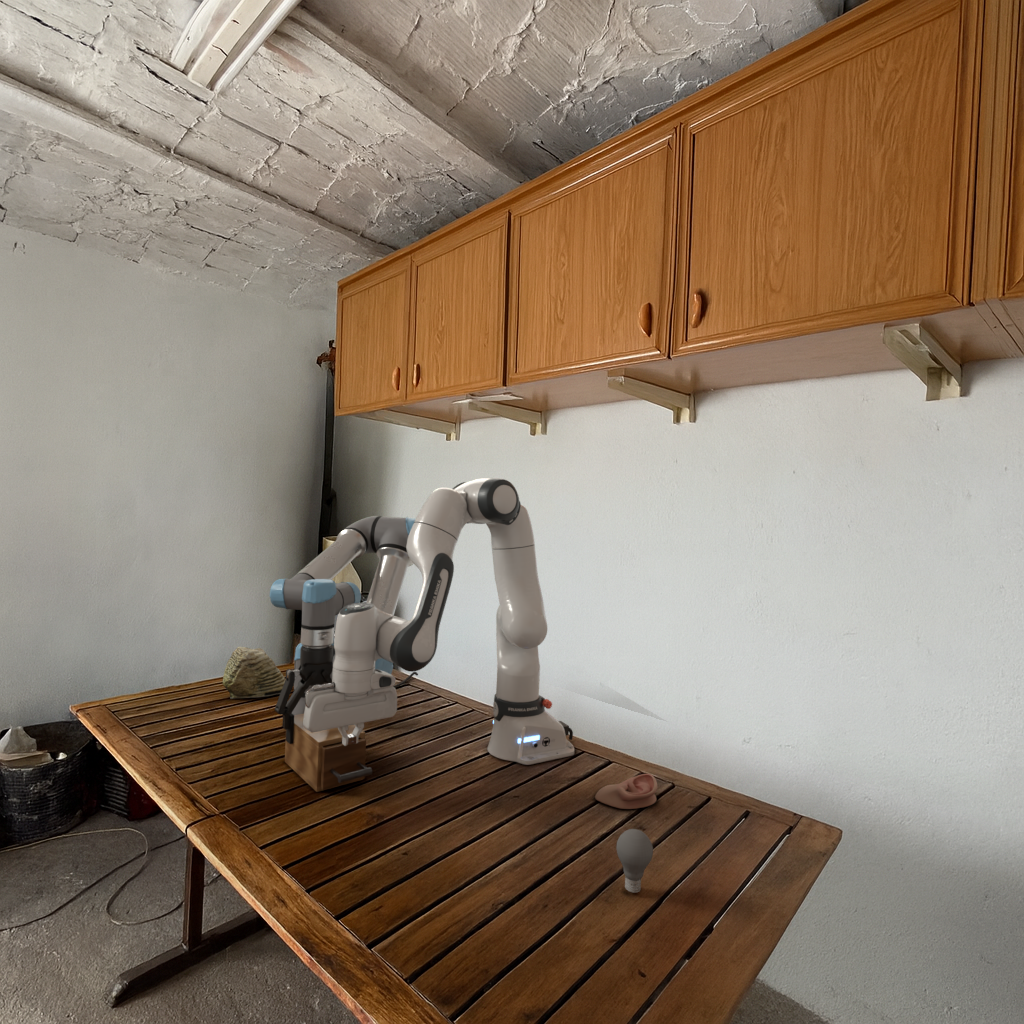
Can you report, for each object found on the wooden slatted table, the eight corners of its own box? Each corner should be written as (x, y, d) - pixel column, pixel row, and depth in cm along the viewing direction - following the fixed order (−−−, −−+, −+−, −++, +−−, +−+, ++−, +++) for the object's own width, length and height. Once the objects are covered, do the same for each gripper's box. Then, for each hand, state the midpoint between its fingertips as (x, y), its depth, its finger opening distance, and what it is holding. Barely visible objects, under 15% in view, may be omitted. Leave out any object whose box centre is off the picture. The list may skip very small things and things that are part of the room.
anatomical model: (594, 786, 135) (598, 765, 146) (593, 805, 135) (597, 782, 146) (658, 795, 132) (657, 772, 143) (657, 814, 132) (656, 790, 143)
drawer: (376, 788, 137) (378, 748, 136) (334, 800, 130) (336, 758, 130) (331, 752, 154) (333, 716, 154) (292, 761, 148) (293, 724, 148)
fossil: (218, 695, 195) (220, 647, 195) (278, 685, 208) (279, 640, 207) (228, 703, 189) (230, 653, 188) (289, 692, 201) (290, 645, 201)
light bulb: (610, 879, 108) (613, 822, 108) (644, 879, 109) (647, 822, 109) (619, 902, 102) (622, 840, 102) (655, 901, 103) (658, 840, 103)
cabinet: (363, 779, 143) (365, 732, 142) (316, 792, 136) (318, 742, 135) (328, 751, 157) (330, 708, 157) (284, 761, 150) (286, 716, 150)
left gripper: (273, 654, 140) (269, 752, 140) (369, 642, 155) (365, 731, 155) (261, 647, 146) (258, 741, 146) (355, 636, 161) (352, 722, 161)
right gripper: (312, 690, 126) (308, 759, 126) (402, 677, 139) (398, 739, 139) (300, 682, 131) (296, 749, 131) (388, 670, 144) (385, 730, 144)
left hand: (313, 736), depth 151 cm, fingers closed on cabinet, 11 cm apart
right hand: (350, 743), depth 135 cm, fingers closed
